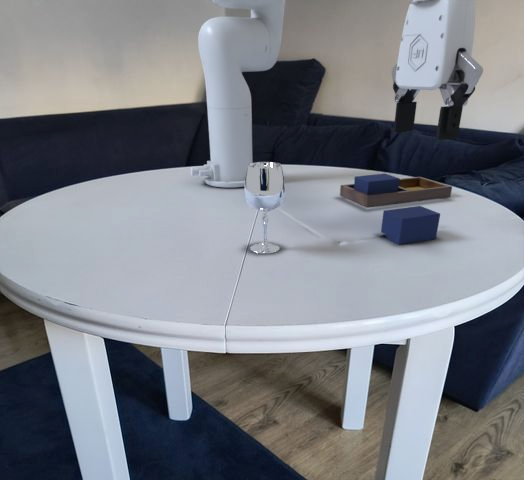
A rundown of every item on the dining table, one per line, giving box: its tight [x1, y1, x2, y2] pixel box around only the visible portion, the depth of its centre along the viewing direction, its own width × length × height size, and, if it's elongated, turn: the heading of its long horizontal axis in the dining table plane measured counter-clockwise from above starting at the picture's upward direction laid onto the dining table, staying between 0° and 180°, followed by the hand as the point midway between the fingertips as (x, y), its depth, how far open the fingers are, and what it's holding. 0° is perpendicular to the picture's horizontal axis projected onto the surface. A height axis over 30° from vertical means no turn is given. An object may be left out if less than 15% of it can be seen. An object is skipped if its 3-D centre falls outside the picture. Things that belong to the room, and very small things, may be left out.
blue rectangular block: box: [380, 205, 441, 245], centre depth 76 cm, size 7×5×4 cm
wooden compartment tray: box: [339, 176, 453, 208], centre depth 97 cm, size 10×19×3 cm, turn 112°
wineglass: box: [243, 161, 286, 255], centre depth 70 cm, size 6×6×12 cm
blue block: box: [353, 173, 401, 195], centre depth 95 cm, size 7×5×4 cm
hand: (423, 134), depth 70 cm, fingers open, 9 cm apart
